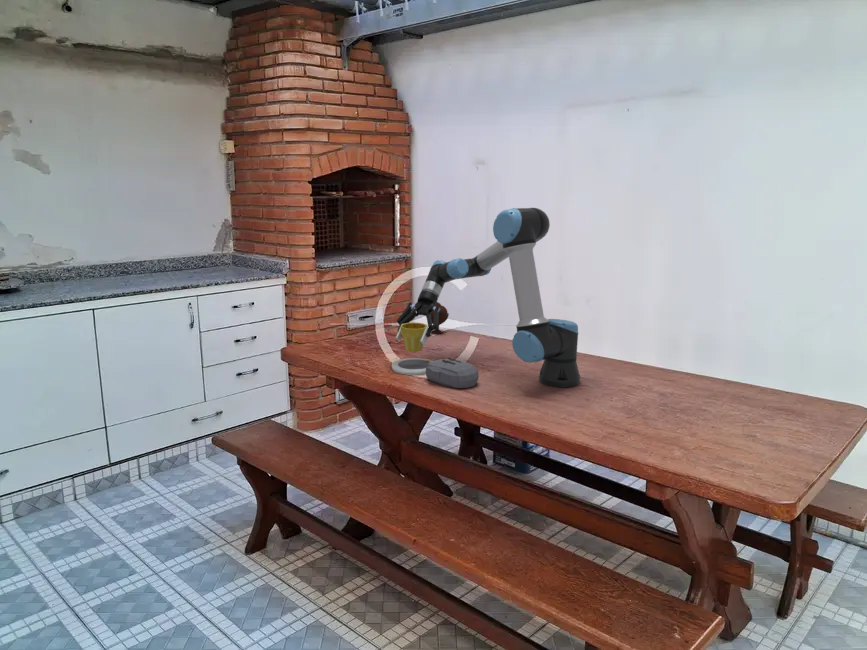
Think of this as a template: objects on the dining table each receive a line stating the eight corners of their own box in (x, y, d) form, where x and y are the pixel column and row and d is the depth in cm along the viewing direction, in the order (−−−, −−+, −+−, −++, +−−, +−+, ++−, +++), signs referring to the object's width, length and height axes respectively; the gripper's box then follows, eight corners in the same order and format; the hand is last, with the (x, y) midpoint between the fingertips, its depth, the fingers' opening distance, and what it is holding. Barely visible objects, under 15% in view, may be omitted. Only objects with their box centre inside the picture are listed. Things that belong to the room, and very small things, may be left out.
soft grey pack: (420, 381, 243) (460, 393, 230) (420, 359, 241) (461, 370, 228) (447, 372, 254) (487, 383, 240) (447, 351, 252) (488, 361, 239)
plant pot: (426, 353, 252) (426, 328, 250) (399, 353, 252) (399, 328, 250) (427, 346, 262) (427, 322, 260) (401, 345, 262) (401, 322, 260)
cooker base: (446, 368, 258) (446, 364, 257) (411, 378, 246) (411, 373, 246) (417, 359, 271) (417, 354, 270) (382, 367, 259) (382, 363, 259)
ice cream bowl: (423, 334, 311) (423, 303, 307) (430, 329, 321) (430, 299, 318) (444, 336, 308) (444, 305, 304) (450, 331, 318) (451, 300, 315)
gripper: (457, 303, 261) (439, 350, 251) (408, 297, 271) (388, 342, 262) (451, 292, 255) (432, 340, 245) (401, 286, 266) (381, 332, 256)
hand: (409, 341), depth 253 cm, fingers closed on plant pot, 10 cm apart
